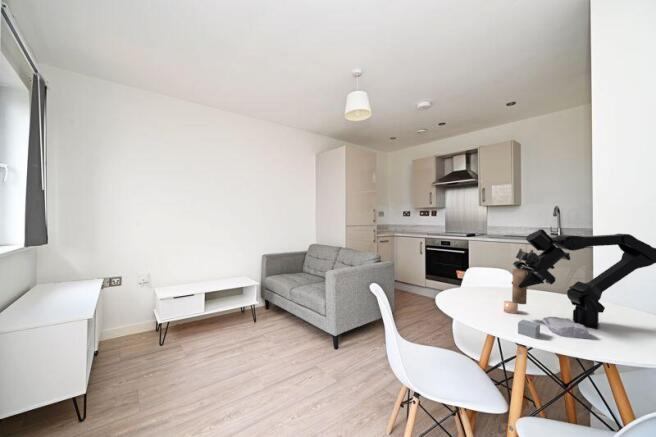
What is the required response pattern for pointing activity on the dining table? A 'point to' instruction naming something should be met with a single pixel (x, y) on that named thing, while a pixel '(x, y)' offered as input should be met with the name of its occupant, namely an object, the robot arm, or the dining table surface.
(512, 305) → the peach rounded knob part
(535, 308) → the dining table surface
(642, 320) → the dining table surface
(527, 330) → the grey faceted polyhedron
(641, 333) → the dining table surface
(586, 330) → the stone block
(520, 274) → the walnut post
